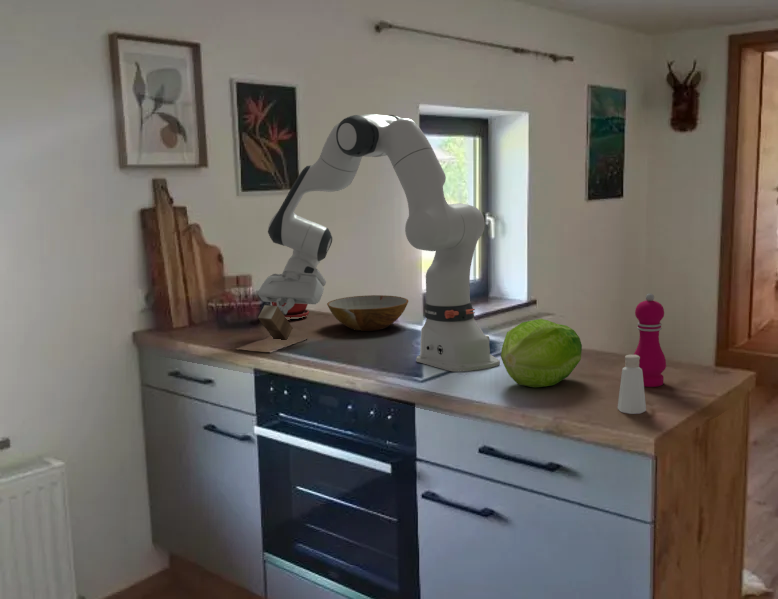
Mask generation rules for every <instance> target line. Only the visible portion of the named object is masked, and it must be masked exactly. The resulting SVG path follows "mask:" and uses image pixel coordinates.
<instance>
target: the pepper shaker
mask: <svg viewBox="0 0 778 599" xmlns="http://www.w3.org/2000/svg"><path fill="white" fill-rule="evenodd" d="M639 359H640V357H639V356H638V355H634V354H626V355H625V356H624V360H625V361H624V362H625V363H624V364H625V366H624V367H622V369H621V370H622V371H621V376H620V384H619V385H620V387H619V393H618V400H617V410H619V411H620V413H624V414H628V415H638V414H639V415H640V414H642V413H644V412H646V411H647V406H646V394H645V387H644V383H643V372H642V369H641V368H640V367H639Z"/></svg>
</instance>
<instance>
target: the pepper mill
mask: <svg viewBox="0 0 778 599" xmlns="http://www.w3.org/2000/svg"><path fill="white" fill-rule="evenodd" d="M634 314H635V315H634V316H635V318H636V319H637V320H638V322H637V324H636V325H637V327H636V328H637V330H638V331H639V339H638V343H637V344H638V345H637V347H636V349H635V351H634V353H633V355H638V356H639V357H640V359H639V367H640V368H641V369H642V372H643V383H644V388H646V387H647V388H654V387H655V388H656V387H657V388H658V387H660V386H662V385H663V384H664V374H662V373H663V372H664V371H665V370H666V367H667V360H666V356H665V354H664V352H663V349H662V347H661V344H660V331H661V330H662V325H663V324H662V323H661V321H662V320H663V318H664V316H665V309H664V306H663V305H662V304H661V302H658V301H656V300H655V296H654V294H653V293H647V294H646V296H645V300H643V301H641V302H639V303H638V304H637V306H636V307H635V310H634Z"/></svg>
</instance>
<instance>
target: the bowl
mask: <svg viewBox="0 0 778 599" xmlns="http://www.w3.org/2000/svg"><path fill="white" fill-rule="evenodd" d="M408 304H409V299H408V298H405V297H401V296H397V295H386V294H385V295H382V294H381V295H380V294H379V295H377V294H375V295H374V294H373V295H372V294H371V295H355V296H354V295H353V296H347V297H341V298H336V299H333V300H330V301H329V302H327V303H326V305H327V308H328V309H329V311H330V313H331V314H332V315H333V317H334V318H335V319H336V320H337V321H339V323H341V324H342V325H344V326H346V327H347V328H349V329H351V330H353V329H355V330H354V331H357V330H361V331H360V332H371V331H380V330H385V329H386V328H388V327H389V326H391V325H393V323H395V322H396V321H397V320H398V319H399V318H400V317H401V316H402V315H403V313H404V312H405V310H406V308H407V306H408Z"/></svg>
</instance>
